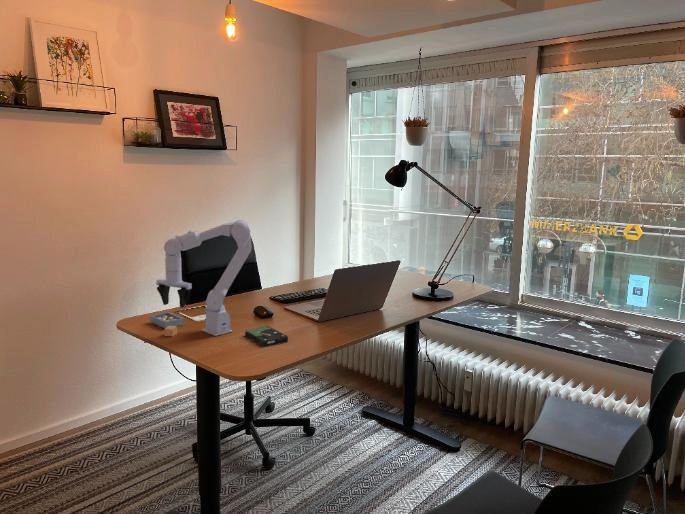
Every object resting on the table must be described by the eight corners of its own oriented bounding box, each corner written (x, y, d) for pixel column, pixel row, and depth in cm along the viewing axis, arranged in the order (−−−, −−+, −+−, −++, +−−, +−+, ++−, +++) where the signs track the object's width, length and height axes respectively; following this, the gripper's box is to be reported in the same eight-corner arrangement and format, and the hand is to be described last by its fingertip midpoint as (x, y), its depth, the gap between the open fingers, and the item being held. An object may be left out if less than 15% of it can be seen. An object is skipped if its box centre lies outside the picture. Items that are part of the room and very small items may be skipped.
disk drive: (288, 343, 197) (268, 332, 208) (288, 336, 197) (268, 325, 208) (264, 348, 191) (244, 336, 202) (264, 341, 190) (244, 329, 202)
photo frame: (196, 320, 218) (174, 310, 230) (196, 322, 218) (174, 313, 230) (227, 313, 228) (204, 305, 240) (227, 316, 228) (204, 307, 241)
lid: (191, 334, 204) (191, 325, 203) (181, 341, 196) (181, 332, 195) (160, 332, 205) (160, 323, 205) (149, 339, 197) (149, 329, 197)
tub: (184, 325, 212) (184, 318, 212) (165, 329, 206) (165, 322, 206) (168, 319, 220) (168, 311, 220) (150, 322, 214) (150, 315, 214)
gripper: (196, 270, 201) (196, 305, 204) (164, 266, 206) (165, 300, 208) (184, 273, 195) (185, 310, 197) (152, 269, 200) (153, 305, 202)
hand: (174, 305), depth 202 cm, fingers open, 7 cm apart
